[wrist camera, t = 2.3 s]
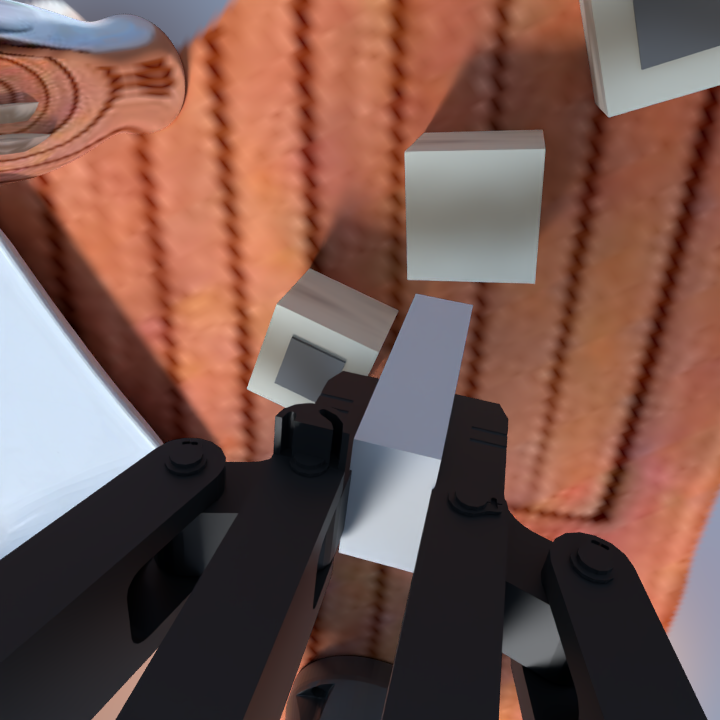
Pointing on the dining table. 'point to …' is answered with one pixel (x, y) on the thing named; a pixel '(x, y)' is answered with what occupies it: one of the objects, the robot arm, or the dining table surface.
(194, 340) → the dining table surface
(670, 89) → the marked block
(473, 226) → the plain block
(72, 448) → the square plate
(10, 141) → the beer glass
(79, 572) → the robot arm
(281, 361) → the marked block
